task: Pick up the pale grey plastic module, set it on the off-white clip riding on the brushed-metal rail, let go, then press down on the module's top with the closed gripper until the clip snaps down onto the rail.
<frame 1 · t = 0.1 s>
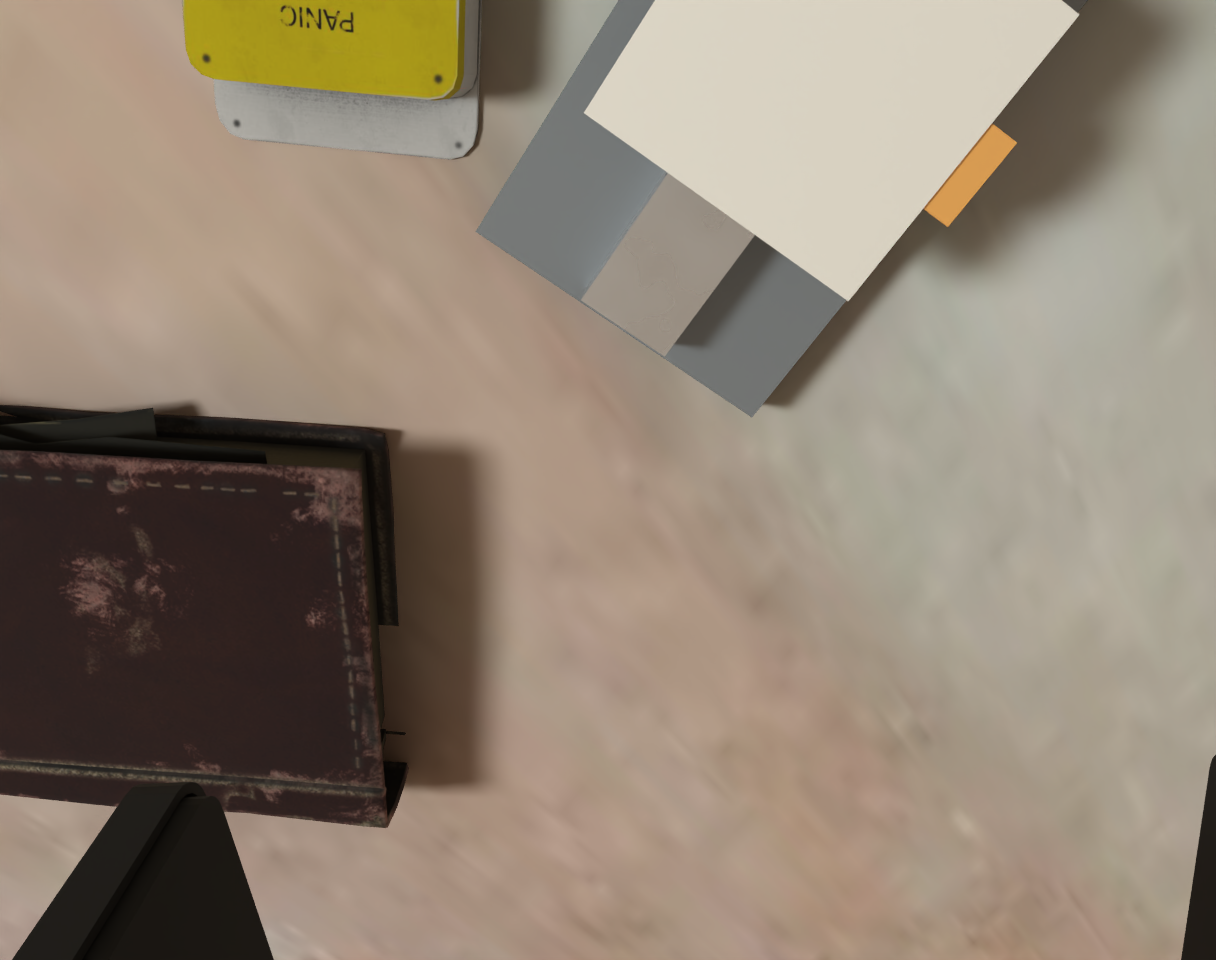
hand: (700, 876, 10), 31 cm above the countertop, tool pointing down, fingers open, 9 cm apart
rail mount: (806, 52, 36), on the countertop
diary: (123, 583, 48), on the countertop
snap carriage: (832, 72, 32), point 4 cm above the countertop, slide at 0.0 cm
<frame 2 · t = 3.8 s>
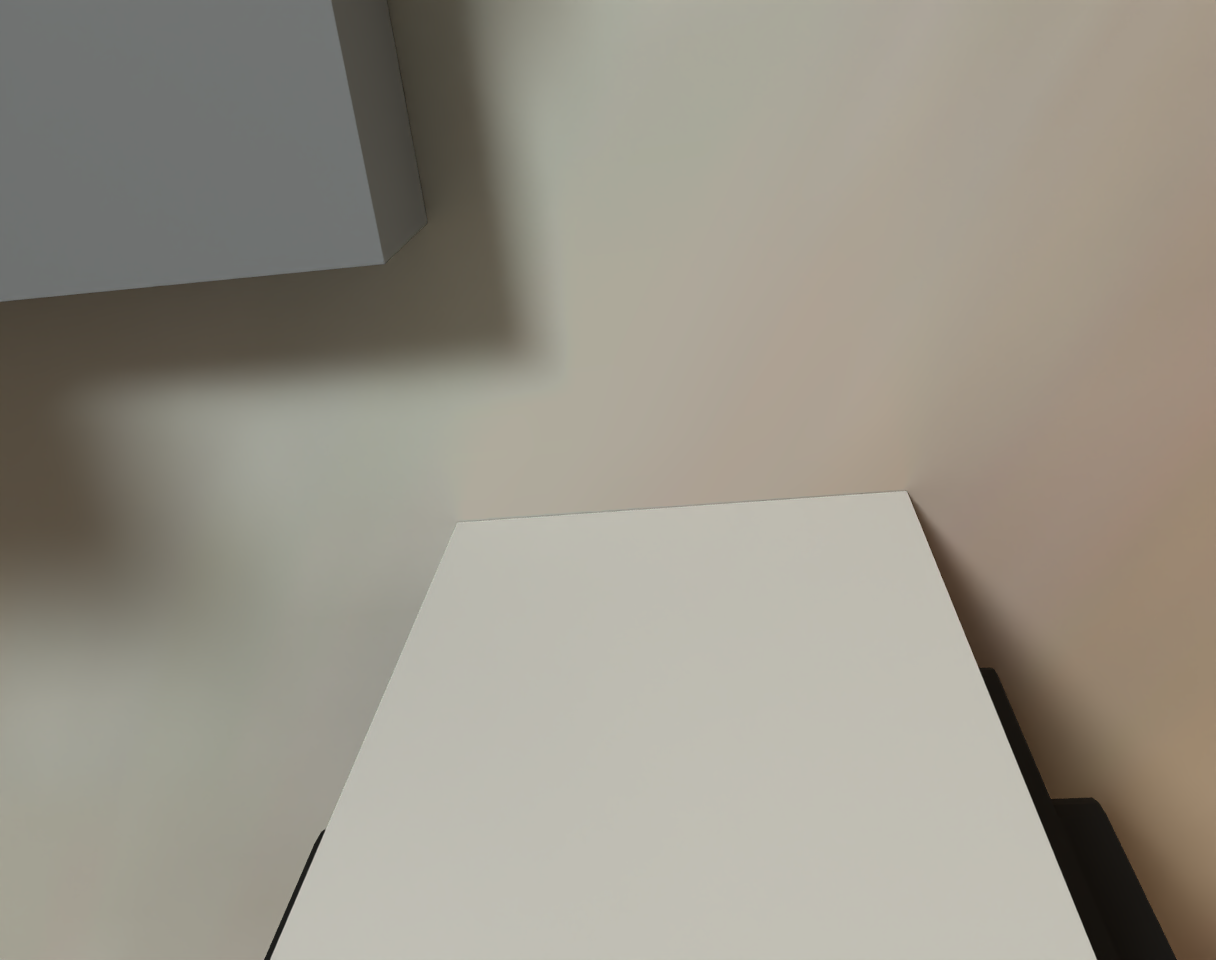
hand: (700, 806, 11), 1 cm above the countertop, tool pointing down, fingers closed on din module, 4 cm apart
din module: (700, 746, 12), on the countertop, touching gripper
when the fingers open (8 cm above the countertop, at t = 8.9 s): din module drops 2 cm, resting on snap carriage.
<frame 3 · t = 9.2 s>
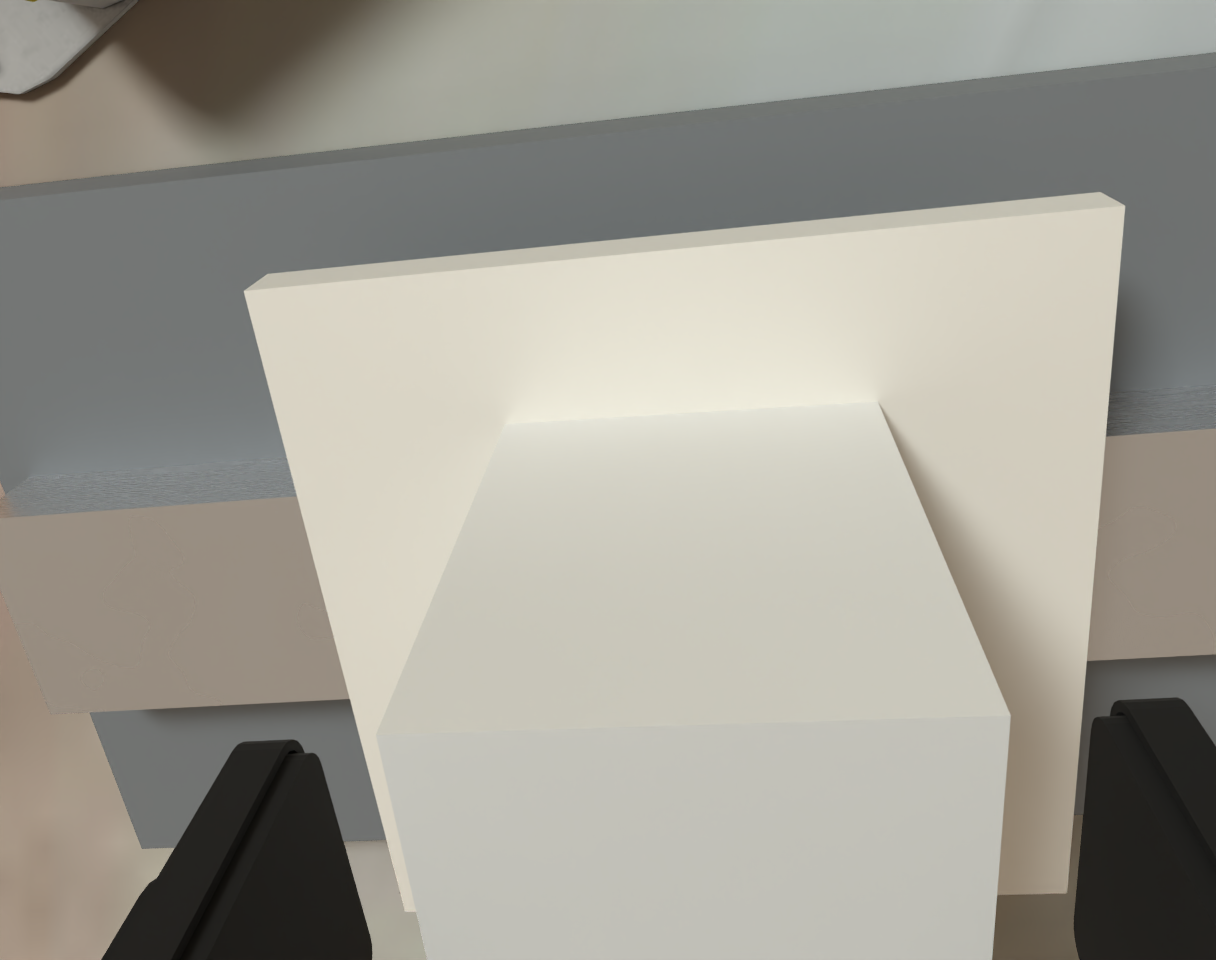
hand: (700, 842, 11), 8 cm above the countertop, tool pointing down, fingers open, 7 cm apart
rail mount: (697, 487, 18), on the countertop
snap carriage: (701, 609, 16), point 3 cm above the countertop, slide at 1.1 cm, touching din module
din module: (702, 623, 14), point 4 cm above the countertop, touching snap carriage
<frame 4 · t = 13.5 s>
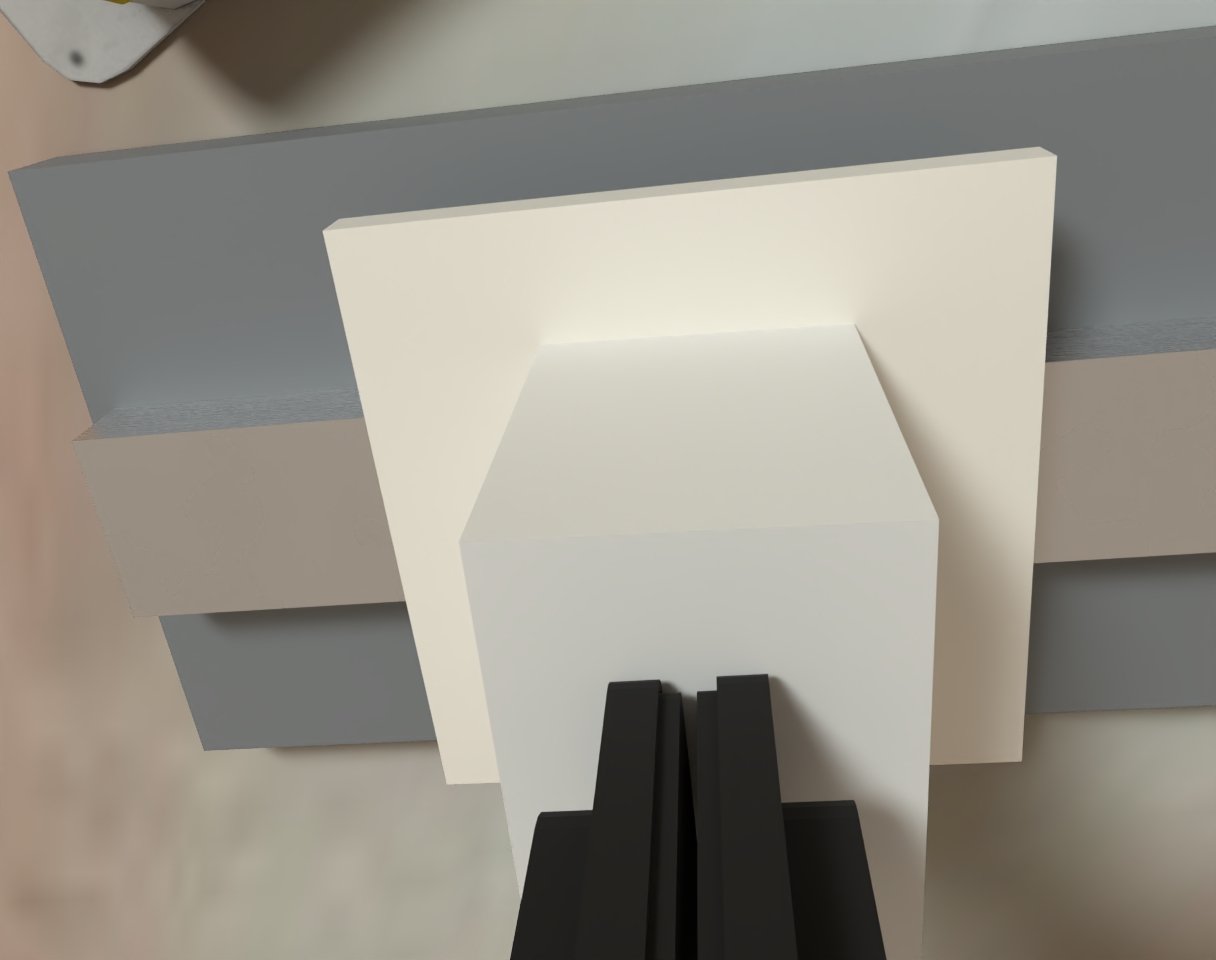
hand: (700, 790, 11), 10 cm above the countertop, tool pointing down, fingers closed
rail mount: (702, 421, 20), on the countertop
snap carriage: (705, 514, 18), point 3 cm above the countertop, slide at 1.3 cm, touching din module
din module: (706, 519, 17), point 4 cm above the countertop, touching gripper, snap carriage
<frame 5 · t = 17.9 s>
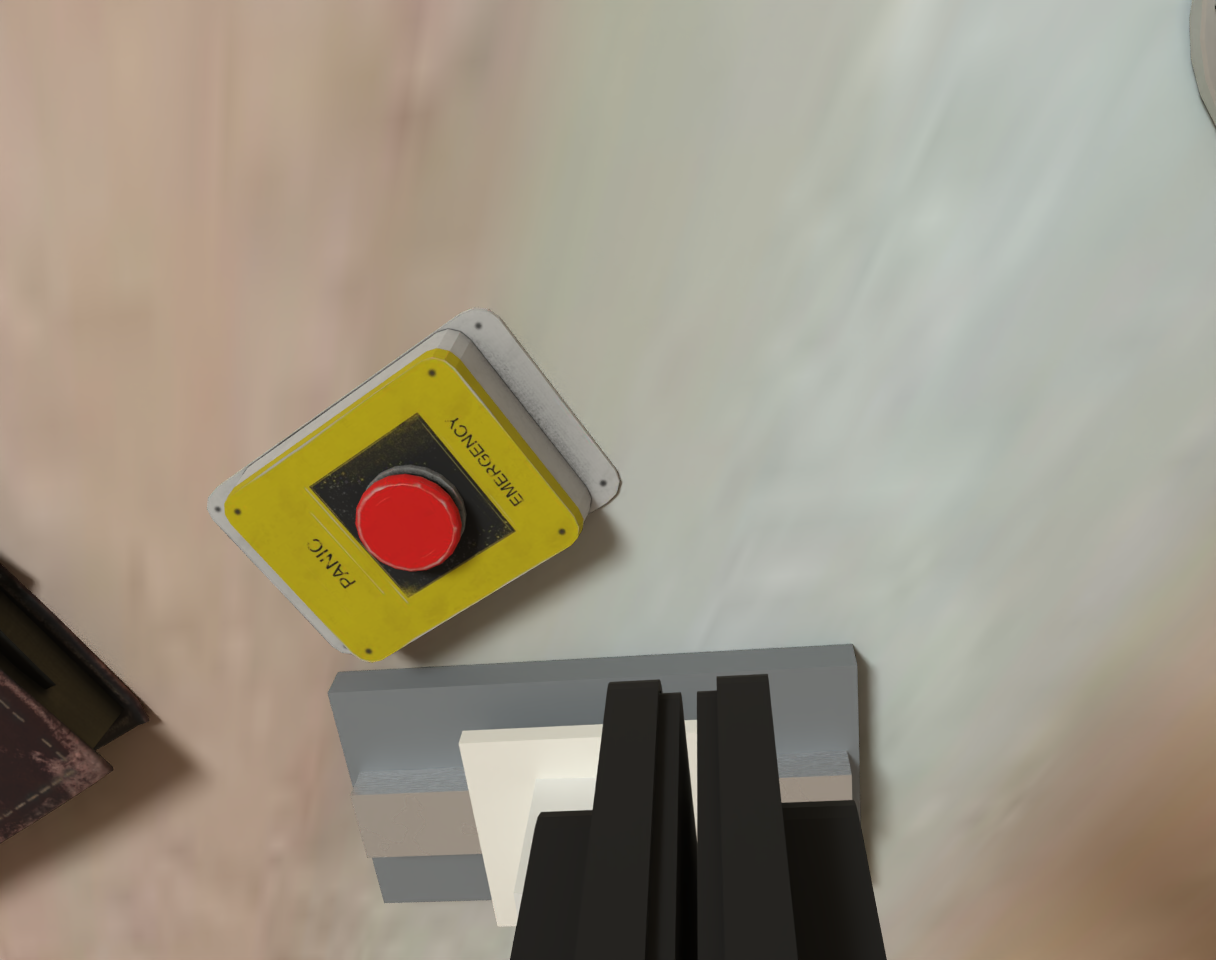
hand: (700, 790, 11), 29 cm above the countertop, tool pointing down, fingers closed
rail mount: (604, 770, 48), on the countertop
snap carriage: (600, 824, 46), point 3 cm above the countertop, slide at 1.3 cm, touching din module
emergency button: (413, 486, 44), on the countertop
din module: (598, 834, 45), point 4 cm above the countertop, touching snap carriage
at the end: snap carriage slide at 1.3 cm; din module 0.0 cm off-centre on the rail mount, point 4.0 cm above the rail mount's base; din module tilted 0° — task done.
